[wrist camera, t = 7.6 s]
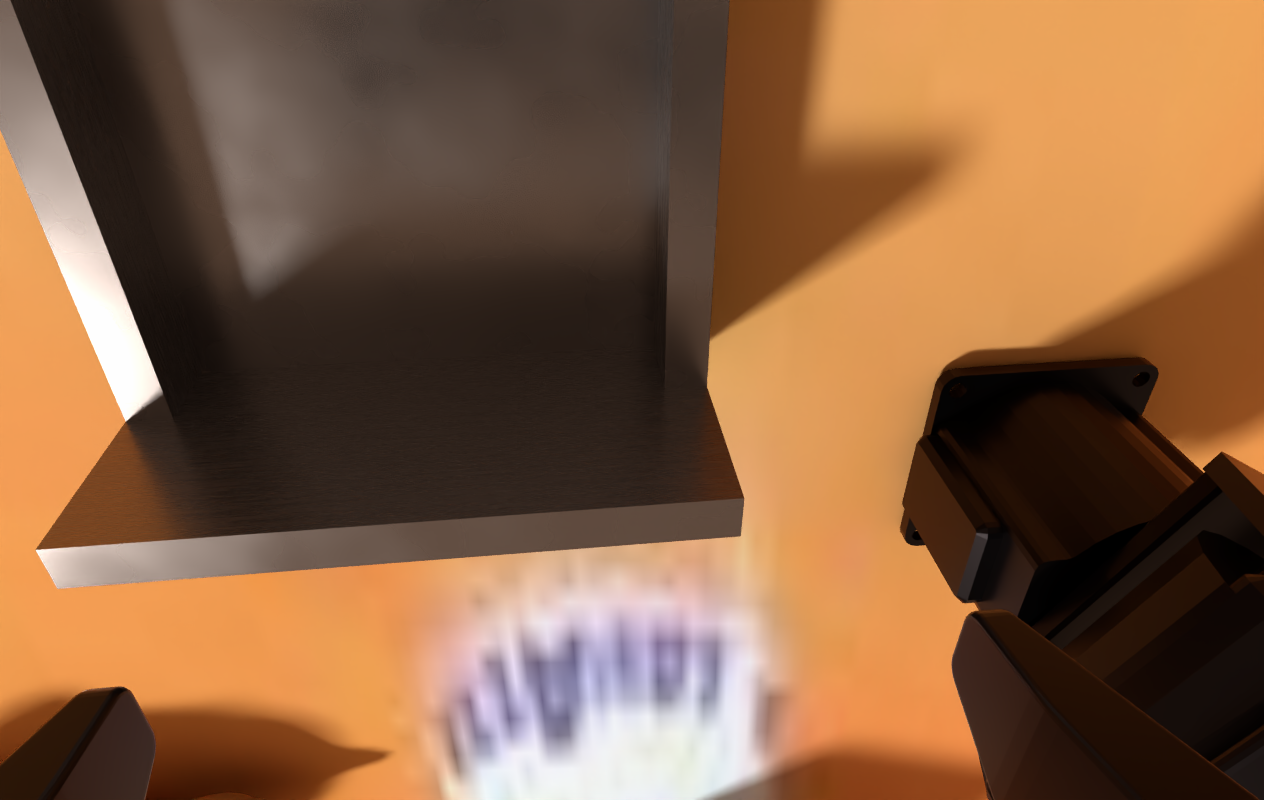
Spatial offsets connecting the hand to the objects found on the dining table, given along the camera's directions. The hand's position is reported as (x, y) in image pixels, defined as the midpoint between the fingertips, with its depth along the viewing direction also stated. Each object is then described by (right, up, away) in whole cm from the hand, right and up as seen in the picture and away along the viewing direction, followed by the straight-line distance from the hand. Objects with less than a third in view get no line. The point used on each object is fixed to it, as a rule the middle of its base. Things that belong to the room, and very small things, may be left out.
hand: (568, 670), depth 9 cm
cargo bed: (-4, +9, +9) cm, 13 cm away
